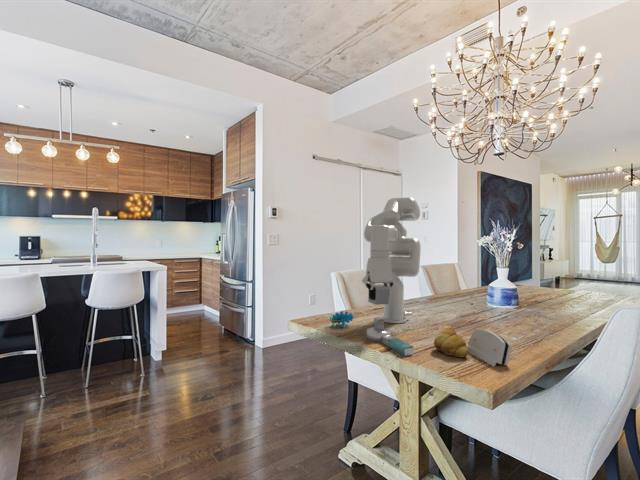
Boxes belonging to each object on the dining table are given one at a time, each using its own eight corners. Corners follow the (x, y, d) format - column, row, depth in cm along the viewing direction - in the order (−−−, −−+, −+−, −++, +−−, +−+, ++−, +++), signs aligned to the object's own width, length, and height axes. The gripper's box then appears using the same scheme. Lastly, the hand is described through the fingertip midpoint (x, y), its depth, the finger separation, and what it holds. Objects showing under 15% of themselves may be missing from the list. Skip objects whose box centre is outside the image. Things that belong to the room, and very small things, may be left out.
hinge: (462, 349, 125) (471, 323, 125) (473, 352, 126) (481, 327, 126) (494, 367, 108) (503, 337, 109) (506, 370, 109) (515, 341, 110)
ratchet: (383, 333, 144) (383, 314, 144) (420, 353, 120) (421, 331, 120) (362, 335, 141) (362, 316, 141) (396, 356, 117) (397, 334, 116)
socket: (381, 301, 142) (381, 284, 141) (388, 303, 136) (389, 286, 136) (368, 301, 140) (368, 285, 139) (375, 304, 134) (375, 287, 134)
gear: (354, 320, 159) (352, 309, 152) (355, 331, 155) (353, 320, 148) (331, 322, 160) (328, 311, 153) (331, 334, 156) (328, 323, 149)
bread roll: (475, 358, 116) (475, 335, 116) (451, 361, 113) (451, 337, 113) (451, 346, 128) (451, 325, 128) (428, 348, 126) (429, 327, 126)
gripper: (392, 254, 144) (392, 296, 144) (356, 254, 138) (355, 298, 138) (402, 255, 137) (402, 299, 137) (365, 255, 131) (364, 301, 131)
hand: (378, 298), depth 137 cm, fingers closed on socket, 6 cm apart
